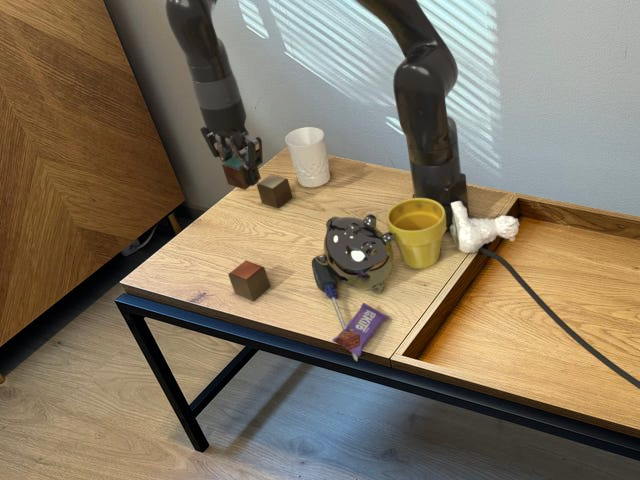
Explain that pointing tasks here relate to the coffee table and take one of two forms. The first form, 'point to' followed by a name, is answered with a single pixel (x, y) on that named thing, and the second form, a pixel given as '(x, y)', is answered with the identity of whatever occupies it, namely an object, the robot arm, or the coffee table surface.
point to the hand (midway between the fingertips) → (244, 180)
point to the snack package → (360, 329)
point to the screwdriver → (328, 287)
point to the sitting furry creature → (479, 229)
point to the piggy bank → (358, 252)
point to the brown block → (274, 191)
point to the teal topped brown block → (236, 173)
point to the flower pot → (418, 230)
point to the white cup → (309, 156)
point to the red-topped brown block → (249, 280)
